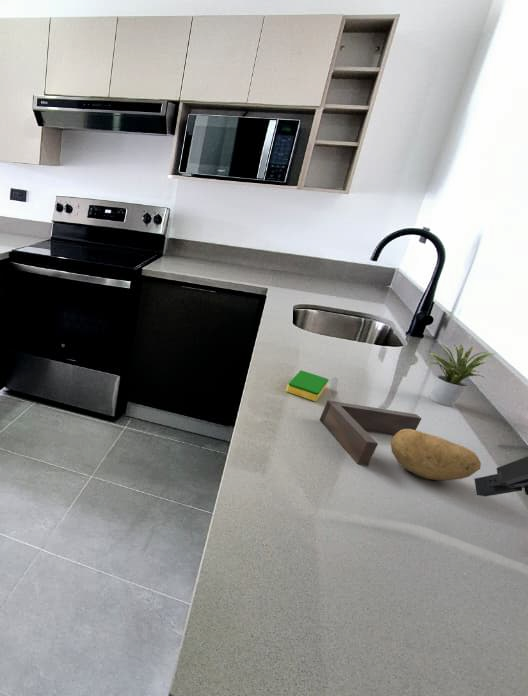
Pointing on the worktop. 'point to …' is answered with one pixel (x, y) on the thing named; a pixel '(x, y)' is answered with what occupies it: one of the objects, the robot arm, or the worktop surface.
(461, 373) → the house plant
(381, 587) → the worktop surface
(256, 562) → the worktop surface
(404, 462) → the potato
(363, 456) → the wooden corner bracket
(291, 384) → the dish sponge
